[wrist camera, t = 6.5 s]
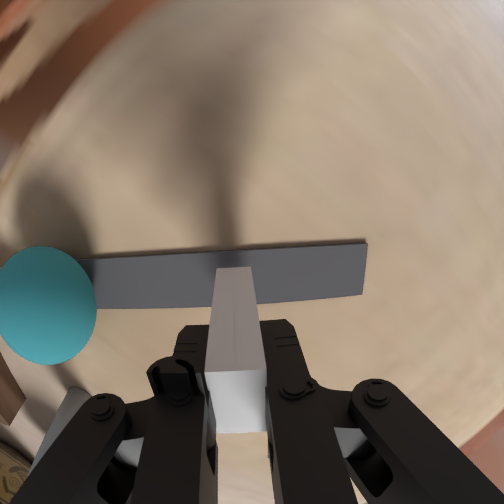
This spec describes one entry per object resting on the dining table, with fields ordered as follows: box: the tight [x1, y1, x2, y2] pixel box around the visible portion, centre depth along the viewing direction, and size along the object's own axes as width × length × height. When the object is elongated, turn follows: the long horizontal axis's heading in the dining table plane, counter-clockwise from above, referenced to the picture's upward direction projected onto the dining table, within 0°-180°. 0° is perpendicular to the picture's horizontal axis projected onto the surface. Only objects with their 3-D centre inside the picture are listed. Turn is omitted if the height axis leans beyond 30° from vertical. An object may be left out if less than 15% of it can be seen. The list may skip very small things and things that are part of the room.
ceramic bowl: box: [0, 443, 32, 504], centre depth 16 cm, size 22×17×15 cm
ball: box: [0, 246, 97, 365], centre depth 11 cm, size 6×6×6 cm
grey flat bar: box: [75, 243, 368, 309], centre depth 15 cm, size 16×3×1 cm, turn 92°
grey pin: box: [27, 387, 91, 476], centre depth 13 cm, size 2×2×9 cm
